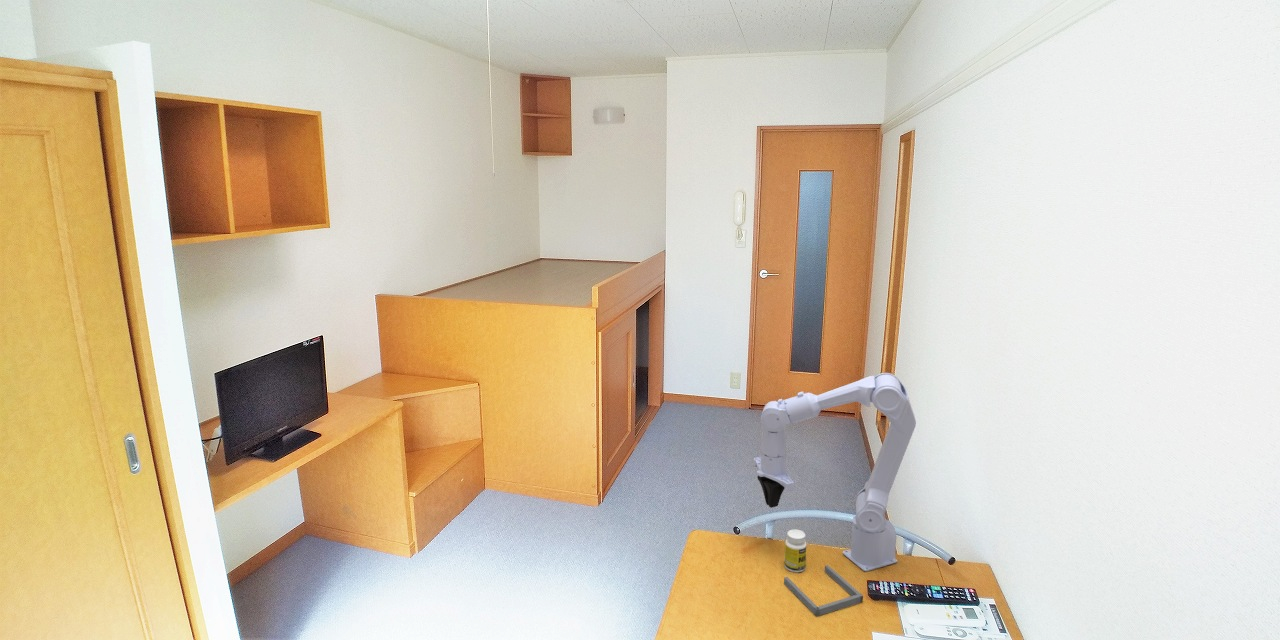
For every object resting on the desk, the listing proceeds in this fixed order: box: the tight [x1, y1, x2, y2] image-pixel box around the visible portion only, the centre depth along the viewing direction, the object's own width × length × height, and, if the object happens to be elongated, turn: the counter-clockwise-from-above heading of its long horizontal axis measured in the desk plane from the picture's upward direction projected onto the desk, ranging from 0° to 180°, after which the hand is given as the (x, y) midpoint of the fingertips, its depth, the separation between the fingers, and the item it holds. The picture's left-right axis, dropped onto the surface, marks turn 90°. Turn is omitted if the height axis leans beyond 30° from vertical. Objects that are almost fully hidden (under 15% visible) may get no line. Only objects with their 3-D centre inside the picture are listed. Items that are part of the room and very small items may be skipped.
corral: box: [783, 564, 864, 618], centre depth 135 cm, size 12×12×2 cm
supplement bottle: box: [783, 528, 808, 573], centre depth 144 cm, size 5×5×8 cm
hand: (772, 505), depth 152 cm, fingers closed
